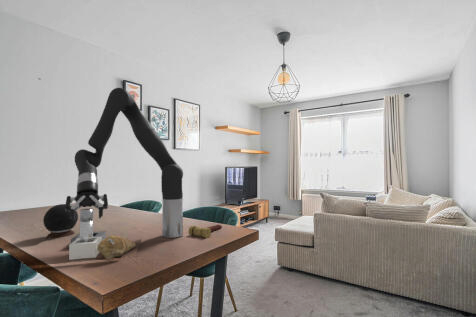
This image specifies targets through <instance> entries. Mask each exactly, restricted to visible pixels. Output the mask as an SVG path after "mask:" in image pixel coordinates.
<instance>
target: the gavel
mask: <svg viewBox="0 0 476 317" xmlns="http://www.w3.org/2000/svg"><path fill="white" fill-rule="evenodd" d="M222 228H223V225H221V224H216V225H215V224H214V225H211V226H207V227H199V226H196V225H190V227H189V228H188V235H189V236H196V237H201V238H204V239H208V238H210V237H211V234H212V232H215V231H218V230H221V229H222Z"/></svg>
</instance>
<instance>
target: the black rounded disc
mask: <svg viewBox="0 0 476 317" xmlns="http://www.w3.org/2000/svg"><path fill="white" fill-rule="evenodd" d="M65 205H66V203H65V204H64V203H63V204H57V205H54V206H51V207H50V208H49V209H48V210H47V211H46V212H45V214H44V216H43V220H42V221H43V225H44V226H43V227H44V228H45V229H46V230H48V232H50V233H48V234H47V235H46V236H45V240H48V239H57V238H65V237H70V236H73V235H75V231H74V230H72V229H73V228H74V227H75V226H76V224H77V222H78V219H79V214H78V211H77V210H76V211H75V221H73V220H72V219H70V213H71V212H66V211H65ZM72 206H73V205H70V207H72Z"/></svg>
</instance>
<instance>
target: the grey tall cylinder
mask: <svg viewBox="0 0 476 317" xmlns="http://www.w3.org/2000/svg"><path fill="white" fill-rule="evenodd" d="M79 211H80V212H79V233H80V243H86V242H93V232H94V208H82V209H79Z"/></svg>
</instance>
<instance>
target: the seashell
mask: <svg viewBox="0 0 476 317" xmlns="http://www.w3.org/2000/svg"><path fill="white" fill-rule="evenodd" d="M136 245H137V244H136V242H134V241H132V240H130V239H129V238H125V237H124V236H118V235H116V234H115V235H109V236H106V238H105V239H103V240H102V241H101V242H100V243H99V245H98V248H97V249H98V251H99V252H100V253H99V254H101V255H102V256H103V258H104V259H105V260H107V261H110V260H113V259H114V258H115V259H119V258H120V257H122V256H123V255H124V254H126V253H128V252H129V251H131V250H132V249H134V248H135V247H136Z"/></svg>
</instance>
